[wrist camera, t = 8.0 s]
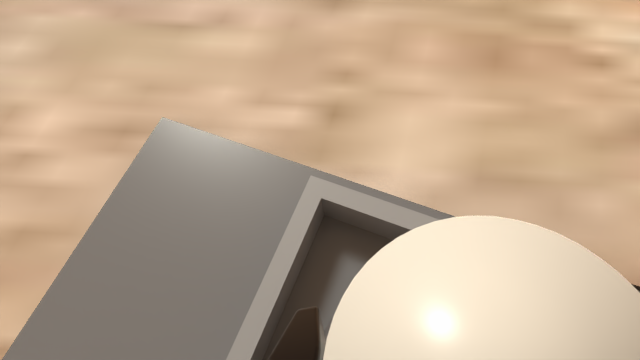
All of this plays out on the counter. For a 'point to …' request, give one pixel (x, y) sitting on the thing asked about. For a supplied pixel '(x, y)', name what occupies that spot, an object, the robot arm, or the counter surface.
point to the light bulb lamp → (485, 298)
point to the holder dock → (210, 254)
